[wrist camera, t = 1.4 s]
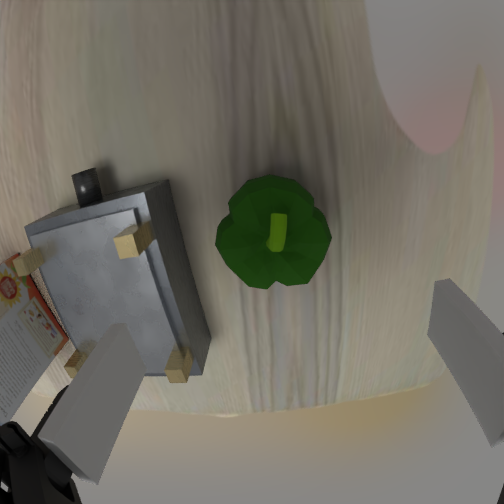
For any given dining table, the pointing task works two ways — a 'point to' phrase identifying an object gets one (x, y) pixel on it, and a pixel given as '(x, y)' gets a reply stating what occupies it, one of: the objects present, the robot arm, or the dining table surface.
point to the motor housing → (121, 275)
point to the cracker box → (23, 338)
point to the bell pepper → (273, 233)
